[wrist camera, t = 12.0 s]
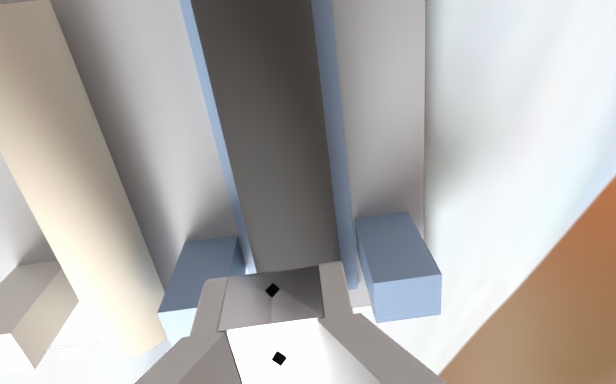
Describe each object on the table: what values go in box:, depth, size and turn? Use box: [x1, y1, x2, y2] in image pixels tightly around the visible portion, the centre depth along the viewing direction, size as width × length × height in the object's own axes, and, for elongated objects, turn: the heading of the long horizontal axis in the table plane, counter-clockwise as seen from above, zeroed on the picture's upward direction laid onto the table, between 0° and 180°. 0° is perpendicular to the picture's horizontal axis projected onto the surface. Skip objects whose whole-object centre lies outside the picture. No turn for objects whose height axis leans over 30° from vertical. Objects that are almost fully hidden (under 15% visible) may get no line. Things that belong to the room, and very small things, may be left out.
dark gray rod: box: [190, 0, 341, 273], centre depth 15 cm, size 16×4×4 cm, turn 7°
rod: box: [0, 0, 167, 358], centre depth 16 cm, size 14×3×3 cm, turn 7°
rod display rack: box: [0, 0, 442, 374], centre depth 15 cm, size 18×28×6 cm, turn 97°
